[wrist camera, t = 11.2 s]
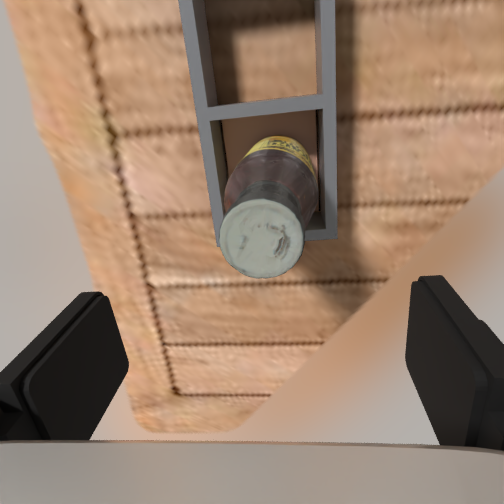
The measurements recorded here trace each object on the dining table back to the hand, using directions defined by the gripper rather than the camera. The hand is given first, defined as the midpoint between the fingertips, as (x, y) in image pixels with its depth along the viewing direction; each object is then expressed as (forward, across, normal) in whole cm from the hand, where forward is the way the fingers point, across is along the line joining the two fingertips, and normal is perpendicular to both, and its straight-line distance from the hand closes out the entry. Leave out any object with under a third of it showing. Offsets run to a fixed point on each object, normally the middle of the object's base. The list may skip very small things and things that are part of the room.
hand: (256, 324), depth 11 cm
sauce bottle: (+26, 0, 0) cm, 26 cm away
